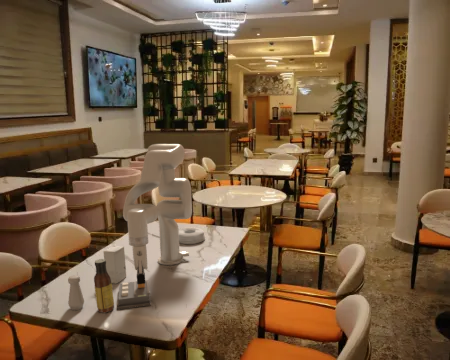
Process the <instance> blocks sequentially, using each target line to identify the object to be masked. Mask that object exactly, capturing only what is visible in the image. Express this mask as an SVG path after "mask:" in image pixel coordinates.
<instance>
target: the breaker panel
mask: <svg viewBox="0 0 450 360" xmlns="http://www.w3.org/2000/svg"><path fill="white" fill-rule="evenodd" d="M149 283H150V282H149V280H147V279H145V287H144V288H138V284H137V280H135V281H128V282H121V283H120V282H119V289H118V305H124V304H132V303H140V302H148V301H150V302H151V296H150V295H151V294H150V285H149Z"/></svg>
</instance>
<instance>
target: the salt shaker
mask: <svg viewBox="0 0 450 360" xmlns="http://www.w3.org/2000/svg"><path fill="white" fill-rule="evenodd" d="M80 281H81V276H80V275H78V274H75V275H74V274H72V275H71V276H69V277H68V279H67V283H68V284H70V285H69V293H68V294H69V295H68V302H67V303H68V306H69V308H70V310H71V311H75V312H76V311H78V310H81V309H82V308H83V307H84V304H85V298H84V295H83V292H82V289H81V285H80Z"/></svg>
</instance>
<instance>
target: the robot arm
mask: <svg viewBox="0 0 450 360" xmlns="http://www.w3.org/2000/svg"><path fill="white" fill-rule="evenodd" d="M185 155H186V151H185V148H184V146H183V145H182V144H179V143H154V144H151V145H149V146H148V147H147V152H146V153H145V156H144V159H143V160H144V161H143V163H142V170H141V175H140V179H139V181H138V182H136V183H135V184H134V185H133V186H132V187H131V189H130V190H129V191H128V192H127V193H126V196H125V198H124V199H125V200H124V205H123V209H122V214H123V215H122V216H123V219H124V220H125V221H126V222H127V232H128V245H129V246H131V247H132V259H133V264H134V270H135V271H136V281H137V284H145V280H146V273H145V270H147V269H148V254H147V253H148V252H147V244H149V231H148V224H152V223H154V222H156V220H157V219H158V228H159V230H158V231H159V247H160V248H159V249H160V250H159V251H160V256H159V257H158V258H157V263H158V264H160V265H163V266H173V265H174V266H175V265H178V264H180V263H182V262H183V260H184V257H190V253H189V252H188V251H187V252H186V251H181V250H180V243H179V225H178V222H176V220H188V219H190V218H191V217H192V215H193V205H192V204H193V203H192V187H191V186H192V185H191V182H190V180H189V179H188V178H185V177H176V168H177V167H179V165H180V164H181V163H182V162H183V161H184V159H185ZM156 188H158V189H157V190H158V194H159V196H160V197H163V198H179V199H162V200H160V201H158V202H157V203H156V205H155V204H151V203H150V204H149V203H136V201H137V199H138V198H139V197H140V196H142V195H144V194H145V193H148V192H150V191H152V190H156Z"/></svg>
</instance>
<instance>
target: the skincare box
mask: <svg viewBox="0 0 450 360" xmlns="http://www.w3.org/2000/svg"><path fill="white" fill-rule="evenodd" d="M103 259H105V260H106V269H107V273H108V275H109V276H110V278H111V283H112V284H115V285H117V284H119V283H120V282H121V281H122V280H124V279H125V278H127V268H126V255H125V246H123V245H122V246H121V245H113V246H111V247H108V248H107V249H105V250H103Z"/></svg>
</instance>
